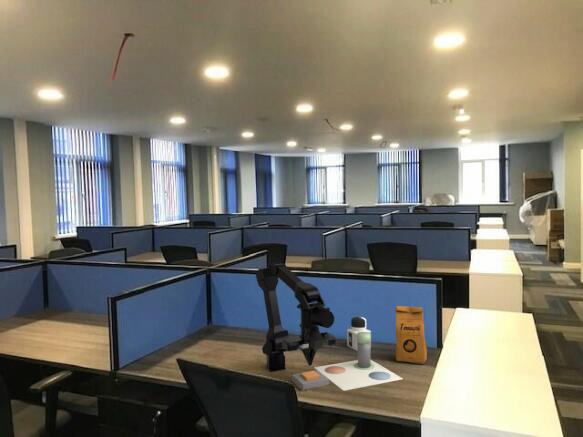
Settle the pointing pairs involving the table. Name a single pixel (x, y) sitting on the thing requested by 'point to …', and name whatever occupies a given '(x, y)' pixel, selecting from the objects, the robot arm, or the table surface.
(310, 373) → the button
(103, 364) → the table surface
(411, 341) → the coffee package
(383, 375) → the white square board
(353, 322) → the container
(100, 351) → the table surface
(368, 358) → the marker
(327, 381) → the button housing
